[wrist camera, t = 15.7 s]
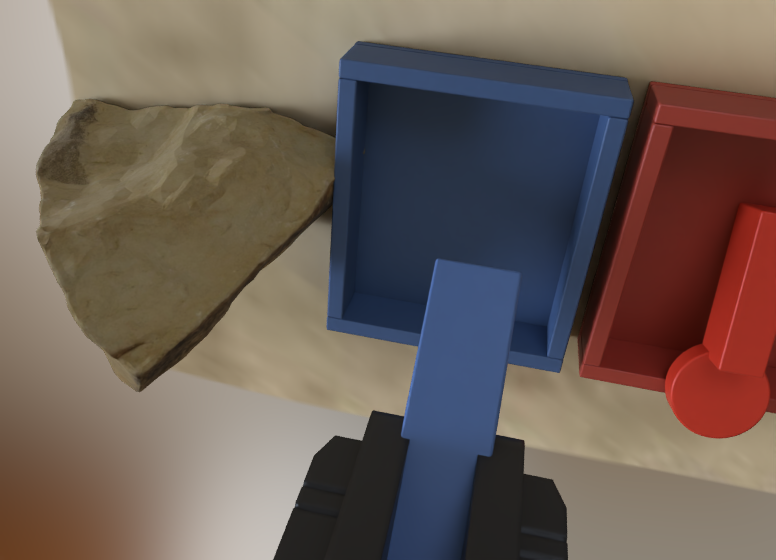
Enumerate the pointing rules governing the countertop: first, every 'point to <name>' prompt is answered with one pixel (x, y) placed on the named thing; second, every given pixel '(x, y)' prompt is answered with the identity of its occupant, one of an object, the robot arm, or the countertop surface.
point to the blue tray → (468, 187)
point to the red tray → (675, 230)
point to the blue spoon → (453, 405)
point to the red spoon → (733, 337)
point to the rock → (171, 218)
